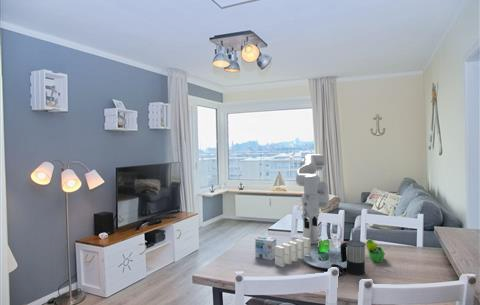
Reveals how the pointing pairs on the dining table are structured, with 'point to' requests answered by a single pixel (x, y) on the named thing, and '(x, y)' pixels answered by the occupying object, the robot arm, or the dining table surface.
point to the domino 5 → (306, 245)
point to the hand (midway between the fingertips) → (310, 226)
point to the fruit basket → (375, 251)
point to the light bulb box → (265, 247)
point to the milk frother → (352, 257)
